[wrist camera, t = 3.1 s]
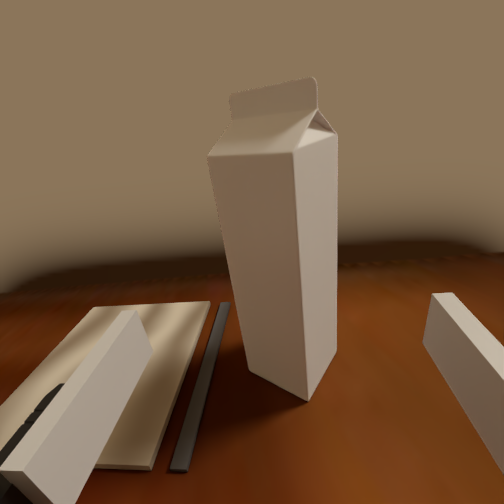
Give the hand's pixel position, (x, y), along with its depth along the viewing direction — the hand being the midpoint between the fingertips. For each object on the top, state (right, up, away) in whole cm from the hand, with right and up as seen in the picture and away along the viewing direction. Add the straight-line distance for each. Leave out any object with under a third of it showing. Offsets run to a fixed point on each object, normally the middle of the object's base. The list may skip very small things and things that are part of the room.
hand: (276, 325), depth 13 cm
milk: (+3, -7, +13) cm, 15 cm away
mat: (-14, -8, +15) cm, 22 cm away
